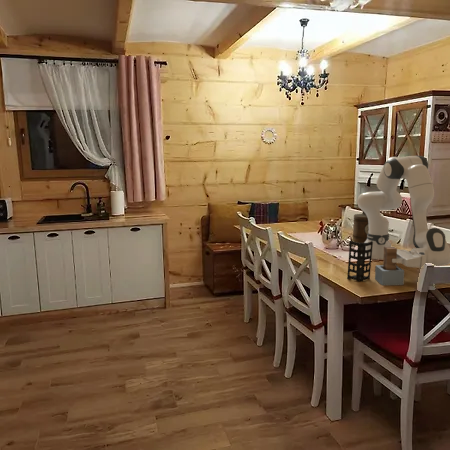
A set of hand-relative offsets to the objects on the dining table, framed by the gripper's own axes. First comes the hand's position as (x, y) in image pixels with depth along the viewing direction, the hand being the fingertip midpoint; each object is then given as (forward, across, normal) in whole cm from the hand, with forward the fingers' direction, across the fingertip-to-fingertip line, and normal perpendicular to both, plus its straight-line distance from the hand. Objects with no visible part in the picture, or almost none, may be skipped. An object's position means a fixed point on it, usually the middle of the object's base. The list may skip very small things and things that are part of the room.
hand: (388, 257), depth 201 cm
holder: (+12, -4, +12) cm, 18 cm away
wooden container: (-18, -93, +12) cm, 95 cm away
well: (-1, 0, +12) cm, 12 cm away
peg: (-1, 0, +11) cm, 11 cm away
